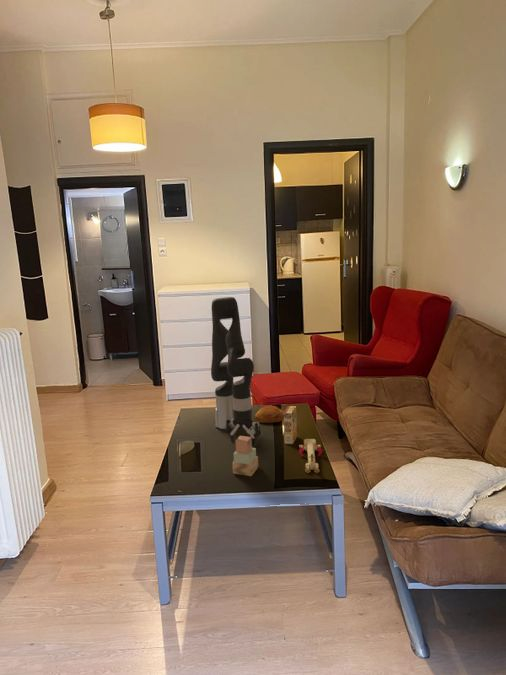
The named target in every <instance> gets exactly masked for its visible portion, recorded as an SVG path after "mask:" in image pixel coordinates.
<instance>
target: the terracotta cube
mask: <svg viewBox="0 0 506 675" xmlns="http://www.w3.org/2000/svg"><path fill="white" fill-rule="evenodd" d="M251 438H252V437H251V436H248V435H247V436H245V435H239V436H238V437H237V438H236V443H235V451H236V452H239V453H247V454H248V453H249V451H250V450H251V449H252V448H253V447H252V443H251Z"/></svg>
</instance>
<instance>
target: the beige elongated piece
mask: <svg viewBox="0 0 506 675" xmlns="http://www.w3.org/2000/svg"><path fill="white" fill-rule="evenodd" d="M316 441H317V440H316V439H315V438H305V439H303V444H299V445H298V446H299V449H298V454H299V455H300V456H302V457H305V455H304V453H303V452H304V451H306V452H307V462H306V463H305V469H304V471H305V473H306V474H309V473H311V472H312V471H311V470H313V472H314V473H316V474H319V473H320V468H319V463H318V462H316V456H315V451H317V452H318V454H317V457H320V456H321V455H322V454H323V449H322V448H321V446H322V445H321V444H317V442H316Z"/></svg>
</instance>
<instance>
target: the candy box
mask: <svg viewBox="0 0 506 675" xmlns="http://www.w3.org/2000/svg"><path fill="white" fill-rule="evenodd" d="M283 411H284V420H283V432H284V434H283V436H284V444H287V445H293V444H295V443H294V442H295V441H296V439H297V437H298V432H297V431H298V430H297V427H298V426H297V406H293V405H288V406H287V407H286V409H284V410H283Z"/></svg>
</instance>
